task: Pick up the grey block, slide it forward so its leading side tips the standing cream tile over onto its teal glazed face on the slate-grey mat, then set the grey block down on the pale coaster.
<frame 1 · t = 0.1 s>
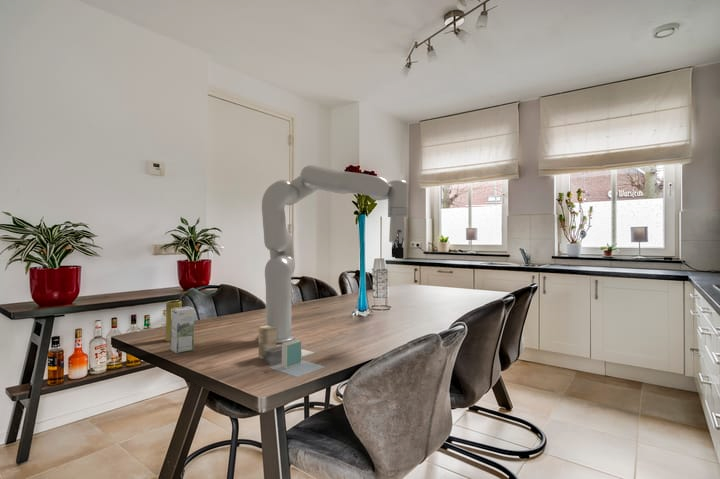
hand: (397, 257, 147), 31 cm above the table, tool pointing down, fingers open, 9 cm apart
syrup box: (182, 351, 131), on the table
coaster: (300, 354, 127), on the table
vase: (173, 340, 145), on the table
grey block: (267, 358, 122), on the table
tile: (291, 365, 115), resting on mat
mat: (297, 368, 114), on the table
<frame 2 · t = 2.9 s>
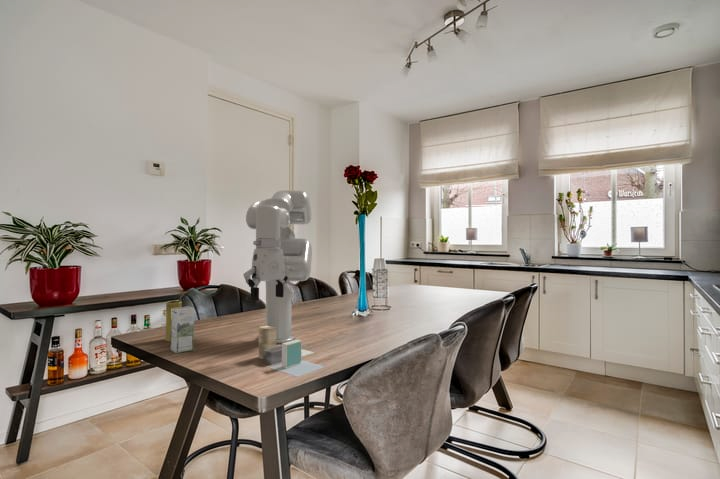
hand: (267, 298, 122), 19 cm above the table, tool pointing down, fingers open, 9 cm apart
nothing on the table moved.
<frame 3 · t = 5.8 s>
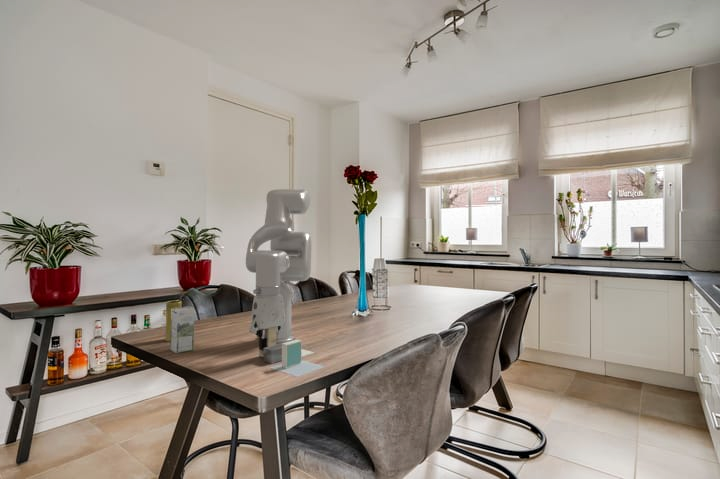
hand: (267, 348, 123), 3 cm above the table, tool pointing down, fingers closed on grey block, 3 cm apart
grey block: (267, 356, 123), point 1 cm above the table, touching gripper
everything else where it was.
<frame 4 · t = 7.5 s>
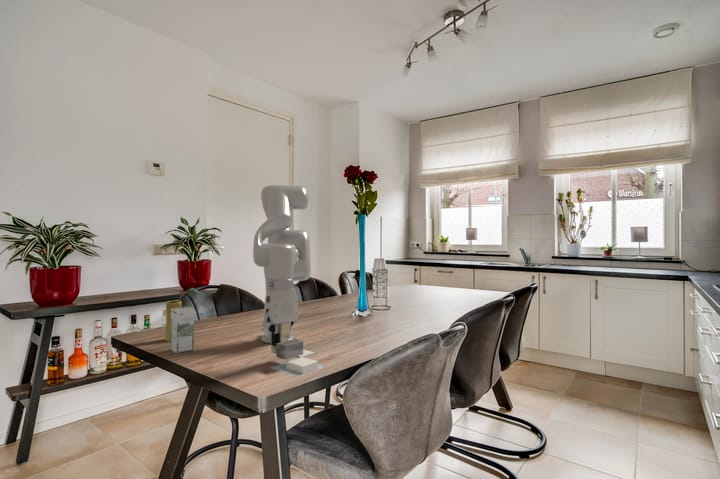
hand: (280, 344, 118), 6 cm above the table, tool pointing down, fingers closed on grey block, 3 cm apart
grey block: (280, 352, 118), point 3 cm above the table, touching gripper
tile: (294, 362, 115), point 1 cm above the table, tilted 90°, touching mat
everything else where it was.
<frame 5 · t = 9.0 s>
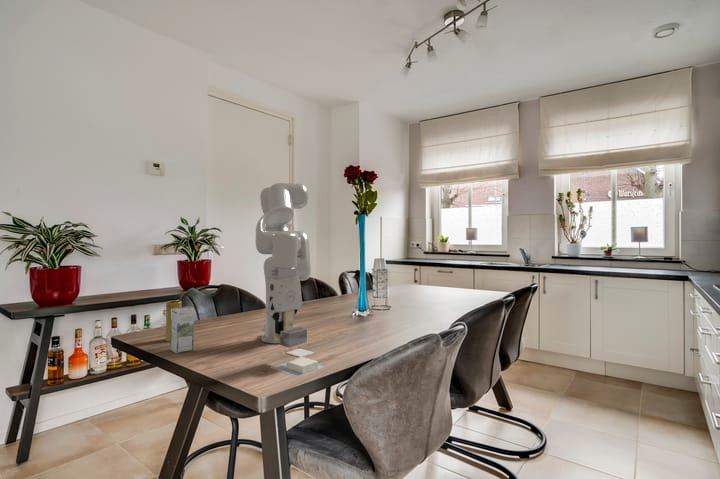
hand: (283, 331, 118), 10 cm above the table, tool pointing down, fingers closed on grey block, 3 cm apart
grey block: (283, 340, 118), point 7 cm above the table, touching gripper
everything else where it was.
when the fingers open (4 cm above the table, at t = 12.7 s): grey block stays where it is, resting on coaster.
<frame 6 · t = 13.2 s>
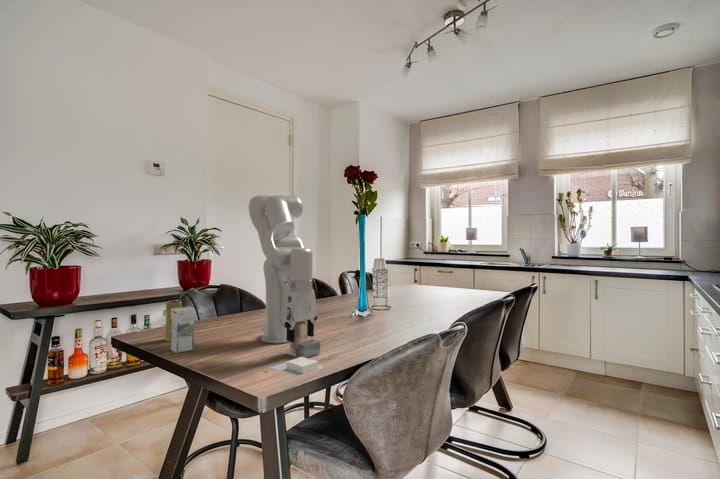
hand: (300, 338, 127), 5 cm above the table, tool pointing down, fingers open, 8 cm apart
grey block: (298, 351, 128), point 1 cm above the table, touching coaster
everything else where it was.
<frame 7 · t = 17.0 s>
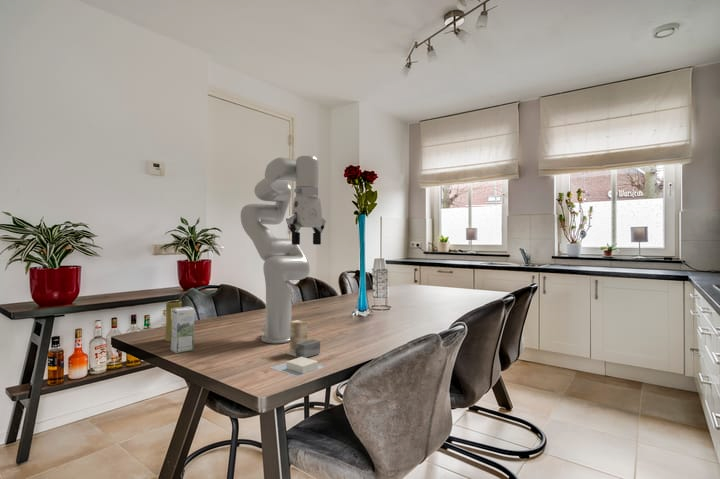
hand: (306, 244, 129), 36 cm above the table, tool pointing down, fingers open, 9 cm apart
nothing on the table moved.
at the end: tile tilted 90°; tile inside the target area (4.0 cm from its centre), point 1.4 cm above the table; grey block inside the target area (0.9 cm from its centre), point 0.6 cm above the table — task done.
